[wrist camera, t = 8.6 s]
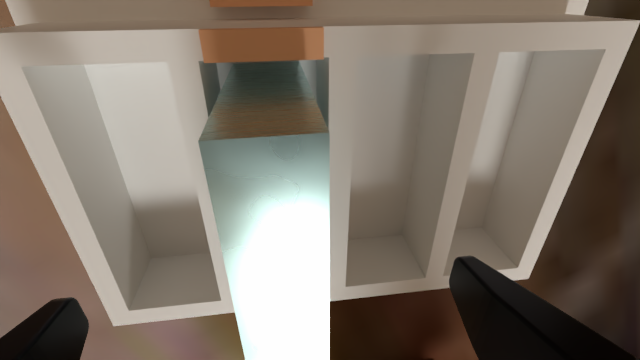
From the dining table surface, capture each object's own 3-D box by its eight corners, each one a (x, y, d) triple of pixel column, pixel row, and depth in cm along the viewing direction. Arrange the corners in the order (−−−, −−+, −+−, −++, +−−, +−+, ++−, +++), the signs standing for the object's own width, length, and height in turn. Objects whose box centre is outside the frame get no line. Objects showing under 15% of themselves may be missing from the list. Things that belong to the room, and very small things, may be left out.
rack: (494, 225, 19) (548, 281, 16) (128, 259, 17) (89, 334, 13) (588, -64, 12) (724, -85, 9) (-3, -72, 10) (-157, -105, 6)
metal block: (306, 231, 16) (329, 374, 10) (257, 236, 16) (251, 385, 10) (299, 61, 12) (329, 132, 6) (232, 64, 12) (198, 141, 6)
